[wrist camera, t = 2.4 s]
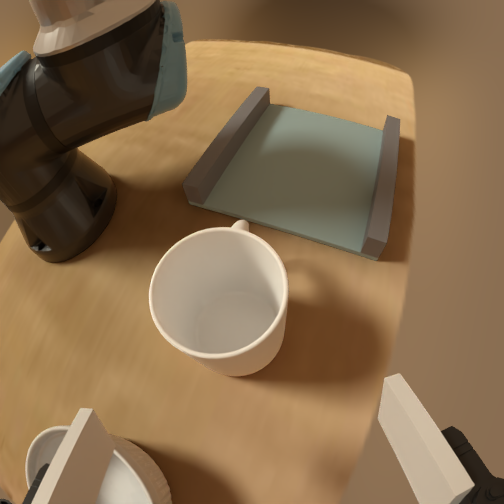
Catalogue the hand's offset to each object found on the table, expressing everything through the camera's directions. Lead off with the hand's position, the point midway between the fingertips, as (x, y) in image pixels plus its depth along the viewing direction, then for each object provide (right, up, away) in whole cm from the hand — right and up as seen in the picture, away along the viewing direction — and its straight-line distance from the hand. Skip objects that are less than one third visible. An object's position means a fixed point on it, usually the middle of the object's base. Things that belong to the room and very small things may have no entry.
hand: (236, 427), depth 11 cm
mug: (0, +1, +17) cm, 17 cm away
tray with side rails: (+8, +19, +26) cm, 33 cm away
